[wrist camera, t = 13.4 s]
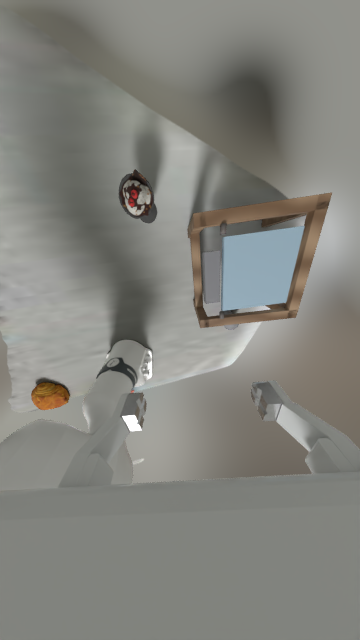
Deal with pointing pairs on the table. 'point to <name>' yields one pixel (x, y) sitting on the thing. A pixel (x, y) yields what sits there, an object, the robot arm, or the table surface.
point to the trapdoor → (252, 268)
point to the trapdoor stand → (270, 216)
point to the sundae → (137, 197)
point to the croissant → (49, 396)
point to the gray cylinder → (233, 326)
